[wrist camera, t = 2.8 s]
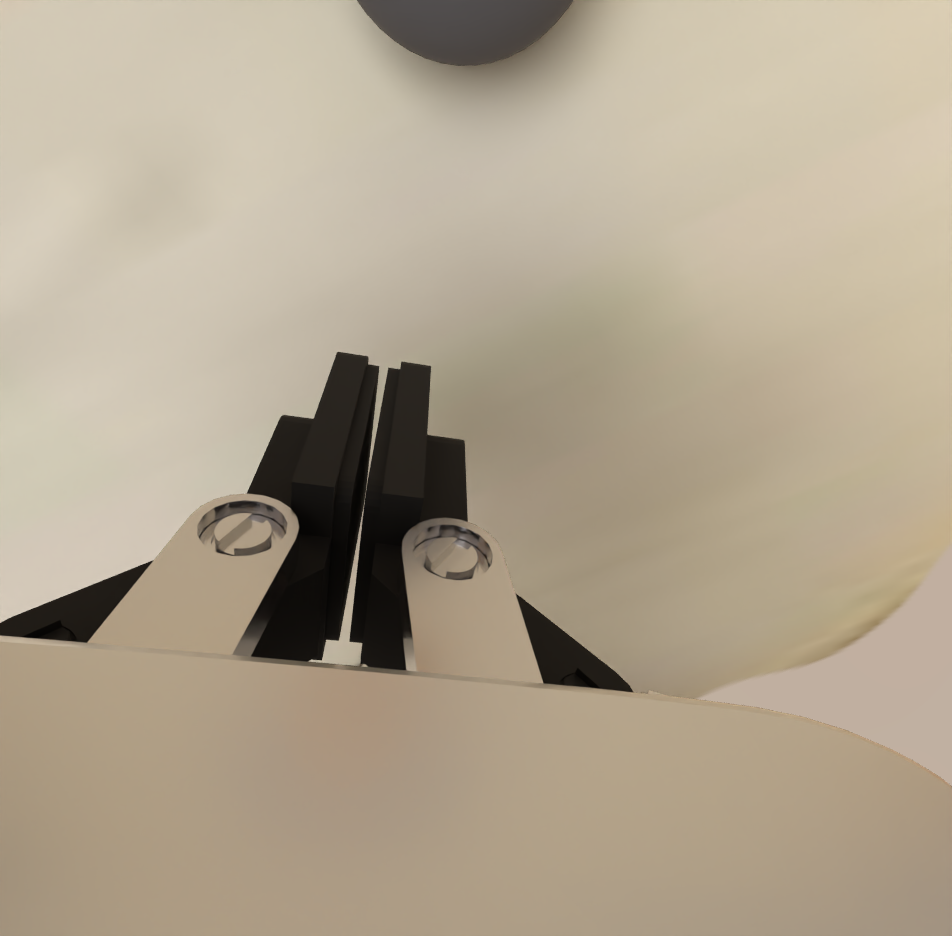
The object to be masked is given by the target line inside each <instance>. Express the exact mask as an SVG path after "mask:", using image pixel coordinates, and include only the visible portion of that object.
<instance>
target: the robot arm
mask: <svg viewBox="0 0 952 936" xmlns="http://www.w3.org/2000/svg"><path fill="white" fill-rule="evenodd" d="M378 374H379V366H374V365H368V356H362V355H355V354H349V353H342V352H337V355H336V357H335V360H334V363H333V366H332V369H331V372H330V374H329V377H328V380H327V383H326V386H325V389H324V391H323V394H322V397H321V400H320V403H319V406H318V408H317V411H316V414H315V417H314V419H309V418H302V417H295V416H287V415H282V416H281V418H280V420H279V422H278V424H277V426H276V429H275V431H274V433H273V435H272V438H271V440H270V442H269V444H268V447H267V449H266V451H265V453H264V456H263V458H262V460H261V463H260V465H259V467H258V469H257V472H256V474H255V476H254V478H253V481H252V483H251V485H250V487H249V490H248V492H247V494H236V495H229V496H225V497H221V498H217V499H214V500H212V501H210V502H208V503H206V504H204V505H202V506H200V507H199V508H198V509H197V510H196V511H195V512H193V513H192V514H191V515H190V516H189V518H188V519H187V520H186V521H185V522H184V524H183V525H182V526H181V527H180V529H179V530H178V531H177V532H176V534H175V535H174V536H173V537H172V539H171V540H170V541H169V542H168V543H167V545H166V546H165V547H164V548H163V550H162V551H161V552H160V553H159V555H158V556H157V557H156V558H155V559H154V560H153V561H150V562H148V563H145V564H143V565H140V566H138V567H135V568H133V569H130V570H128V571H125V572H123V573H121V574H118V575H116V576H113V577H111V578H108V579H106V580H103V581H101V582H98V583H96V584H93V585H91V586H88V587H86V588H83V589H81V590H78V591H76V592H73V593H71V594H68V595H66V596H63V597H61V598H58V599H56V600H53V601H51V602H48V603H46V604H43V605H41V606H38V607H36V608H33V609H31V610H28V611H26V612H23V613H21V614H18V615H16V616H13V617H11V618H9V619H7V620H5V621H3V622H1V623H0V936H952V786H951V785H949V784H948V783H947V782H946V781H945V780H943V779H942V778H941V777H939V776H938V775H936V774H935V773H933V772H931V771H930V770H928V769H926V768H925V767H923V766H921V765H920V764H918V763H916V762H914V761H913V760H911V759H909V758H907V757H905V756H903V755H901V754H899V753H897V752H896V751H894V750H892V749H889V748H887V747H885V746H883V745H880V744H878V743H875V742H873V741H871V740H868V739H866V738H864V737H861V736H859V735H857V734H854V733H852V732H849V731H847V730H844V729H841V728H837V727H834V726H831V725H828V724H825V723H821V722H818V721H815V720H811V719H808V718H805V717H801V716H796V715H791V714H787V713H782V712H777V711H772V710H767V709H763V708H758V707H751V706H743V705H735V704H728V703H721V702H713V701H706V700H698V699H690V698H683V697H675V696H669V695H665V694H662V693H658V692H655V691H652V690H648V692H647V694H644V693H634V692H633V691H632V689H631V688H630V686H629V685H628V684H627V683H626V682H625V681H624V680H623V679H622V678H621V677H620V676H619V675H618V674H617V673H616V672H615V671H614V670H612V669H611V668H610V667H608V666H607V665H606V664H605V663H603V662H602V661H601V660H600V659H598V658H597V657H596V656H594V655H593V654H592V653H591V652H589V651H588V650H587V649H586V648H584V647H583V646H582V645H581V644H579V643H578V642H577V641H575V640H574V639H573V638H572V637H570V636H569V635H568V634H567V633H565V632H564V631H563V630H562V629H560V628H559V627H558V626H556V625H555V624H554V623H553V622H551V621H550V620H549V619H548V618H546V617H545V616H544V615H543V614H541V613H540V612H539V611H537V610H536V609H535V608H534V607H532V606H531V605H530V604H529V603H527V602H526V601H525V600H524V599H522V598H521V597H520V596H518V595H517V594H516V593H515V590H514V587H513V584H512V581H511V578H510V574H509V571H508V568H507V565H506V562H505V558H504V555H503V552H502V550H501V548H500V546H499V544H498V542H497V541H496V540H495V539H494V538H493V537H492V536H491V535H490V534H489V533H488V532H487V531H485V530H484V529H482V528H480V527H478V526H477V525H475V524H472V523H469V522H468V520H467V493H466V466H465V444H464V440H460V439H452V438H445V437H438V436H431V435H427V428H428V410H429V392H430V374H431V366H426V365H420V364H413V363H407V362H401V368H400V369H394V368H388V373H387V379H386V384H385V390H384V395H383V401H382V406H381V412H380V417H379V423H378V428H377V434H376V439H375V445H374V450H373V456H372V461H371V467H370V472H369V478H368V483H367V475H368V466H369V457H370V448H371V439H372V430H373V420H374V411H375V402H376V393H377V384H378ZM366 485H367V490H366ZM365 493H366V497H365ZM364 500H365V504H364ZM363 506H364V513H363V522H362V531H361V541H360V550H359V559H358V568H357V577H356V586H355V596H354V605H353V614H352V623H351V632H350V642H359V643H363V644H362V652H361V663H360V664H363V665H362V666H350V665H339V664H328V663H317V662H308V661H310V660H311V659H313V660H322V657H323V652H324V647H325V642H326V639H327V640H337V641H339V637H340V632H341V627H342V621H343V616H344V610H345V605H346V599H347V594H348V588H349V583H350V577H351V572H352V566H353V561H354V555H355V550H356V544H357V539H358V533H359V528H360V522H361V517H362V511H363Z"/></svg>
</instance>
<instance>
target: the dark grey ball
mask: <svg viewBox="0 0 952 936" xmlns="http://www.w3.org/2000/svg"><path fill="white" fill-rule="evenodd" d="M357 1H358V2H359V4H360V5H361V7H362V8H363V9H364V11H365V12H366V14H367V15H368V16H369V17H370V18H371V19H372V20H373V21H374V22H375V23H376V25H377V26H378V27H379V28H380V29H381V30H383V31H384V32H385V33H386V34H387V35H388V36H390V37H391V38H392V39H393V40H394V41H396V42H397V43H399V44H400V45H402V46H403V47H405V48H406V49H408V50H409V51H411V52H413V53H416V54H418V55H420V56H422V57H424V58H426V59H430V60H433V61H436V62H440V63H444V64H451V65H458V66H468V65H481V64H487V63H492V62H495V61H498V60H501V59H504V58H507V57H510V56H512V55H514V54H516V53H518V52H520V51H522V50H524V49H525V48H527V47H528V46H529V45H531V44H532V43H534V42H535V41H537V40H538V39H539V38H540V37H542V36H543V35H544V34H545V33H546V32H547V31H548V30H549V29H550V28H551V27H552V26H553V25H554V24H555V23H556V22H557V21H558V20H559V18H560V17H561V16H562V15H563V14H564V13H565V11H566V10H567V9H568V8H569V6H570V5H571V3H572V2H573V0H357Z"/></svg>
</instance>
